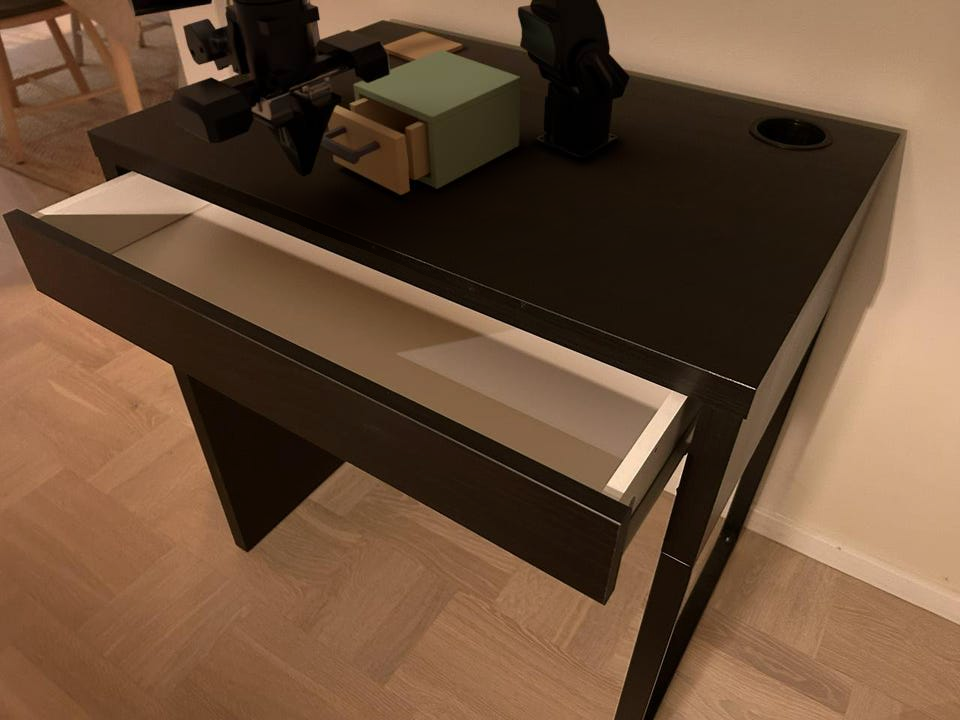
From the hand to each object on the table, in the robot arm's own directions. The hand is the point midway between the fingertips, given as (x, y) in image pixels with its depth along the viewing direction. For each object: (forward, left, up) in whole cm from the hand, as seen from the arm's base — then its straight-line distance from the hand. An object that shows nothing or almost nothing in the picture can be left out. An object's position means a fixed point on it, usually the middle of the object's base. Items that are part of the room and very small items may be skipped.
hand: (304, 173), depth 69 cm
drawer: (0, -11, -3) cm, 11 cm away
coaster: (+23, -36, -4) cm, 43 cm away
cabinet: (0, -17, -4) cm, 18 cm away
